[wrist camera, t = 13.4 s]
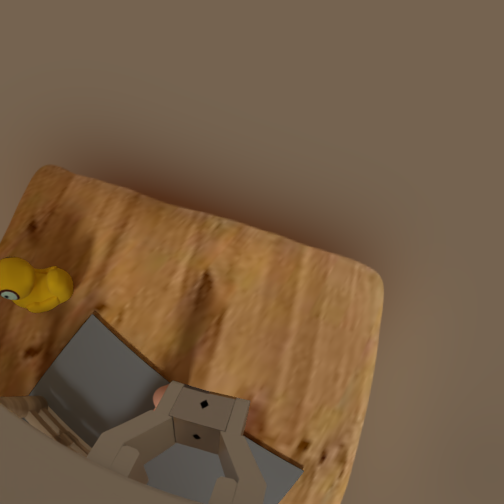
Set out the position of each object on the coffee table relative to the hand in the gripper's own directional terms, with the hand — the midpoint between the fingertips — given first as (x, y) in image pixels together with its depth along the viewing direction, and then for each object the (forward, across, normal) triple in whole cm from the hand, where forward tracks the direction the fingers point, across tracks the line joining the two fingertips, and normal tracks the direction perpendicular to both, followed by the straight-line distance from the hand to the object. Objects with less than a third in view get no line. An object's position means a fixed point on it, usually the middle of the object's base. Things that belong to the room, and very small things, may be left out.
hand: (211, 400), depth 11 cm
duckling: (+16, +27, +13) cm, 34 cm away
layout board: (+8, +9, +25) cm, 28 cm away
